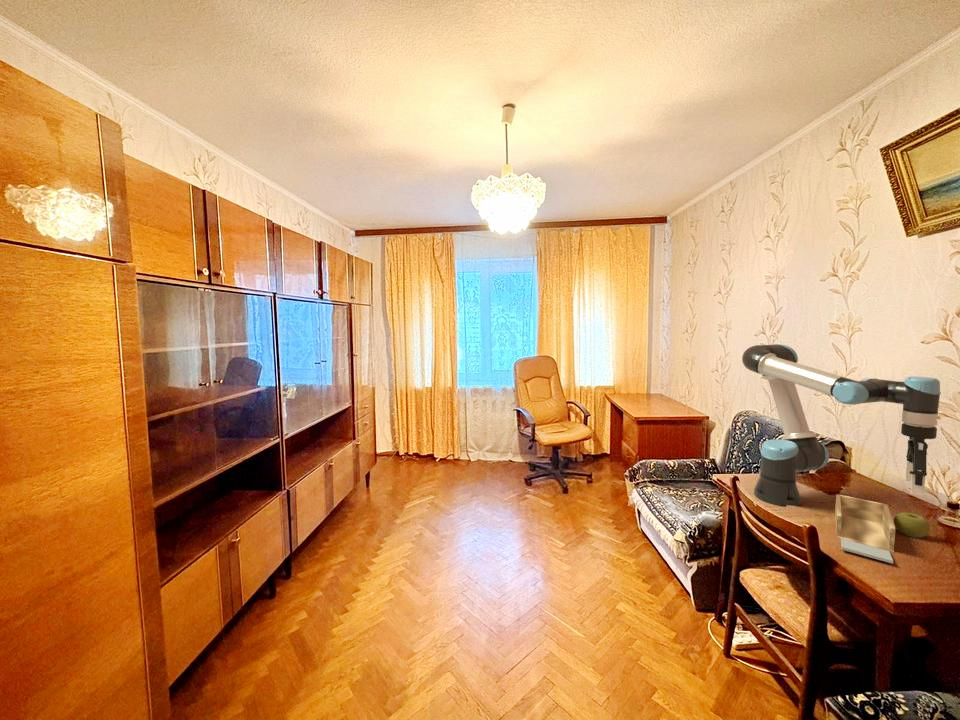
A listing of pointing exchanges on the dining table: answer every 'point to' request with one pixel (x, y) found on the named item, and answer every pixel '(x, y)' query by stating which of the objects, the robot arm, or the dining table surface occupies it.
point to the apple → (911, 525)
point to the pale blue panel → (866, 550)
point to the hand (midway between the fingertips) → (914, 487)
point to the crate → (864, 522)
